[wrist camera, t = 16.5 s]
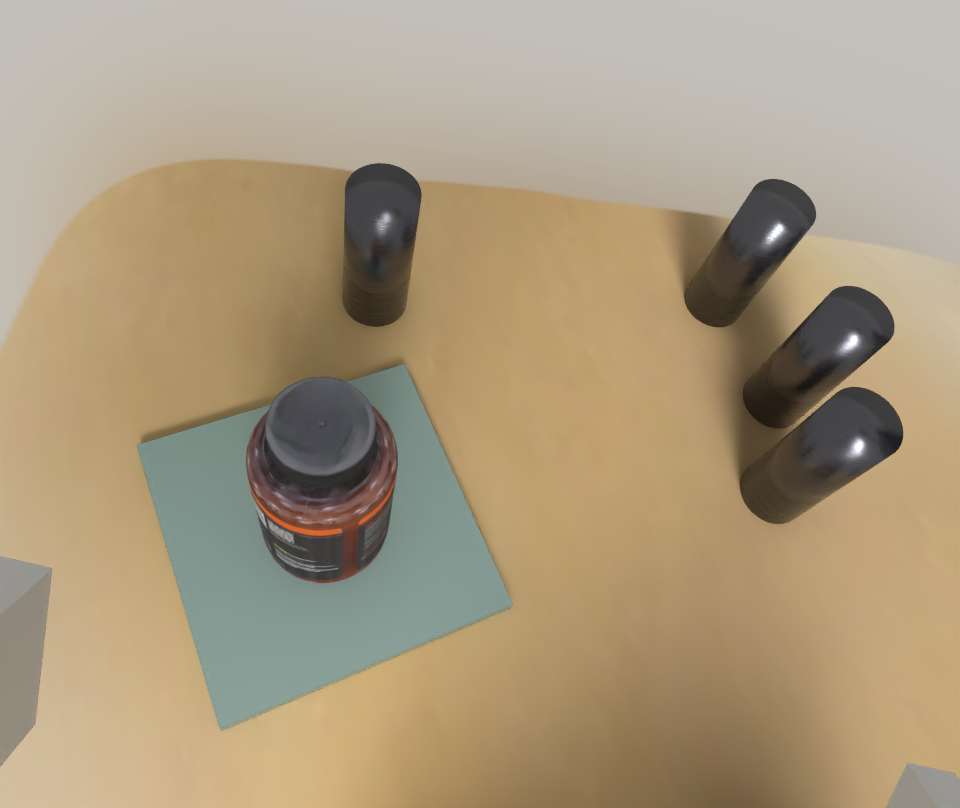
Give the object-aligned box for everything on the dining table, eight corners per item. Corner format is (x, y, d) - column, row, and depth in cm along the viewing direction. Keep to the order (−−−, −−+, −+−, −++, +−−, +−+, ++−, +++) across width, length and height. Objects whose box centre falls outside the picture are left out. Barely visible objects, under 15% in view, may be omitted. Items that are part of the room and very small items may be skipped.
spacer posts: (670, 195, 54) (728, 87, 46) (863, 489, 46) (974, 419, 38) (334, 283, 46) (334, 172, 38) (494, 652, 38) (536, 608, 30)
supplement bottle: (390, 471, 41) (410, 358, 31) (384, 589, 38) (404, 506, 28) (269, 464, 40) (248, 346, 30) (254, 584, 37) (226, 496, 27)
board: (403, 371, 44) (404, 364, 44) (509, 608, 39) (513, 604, 39) (140, 451, 40) (136, 444, 39) (222, 730, 35) (219, 728, 34)
